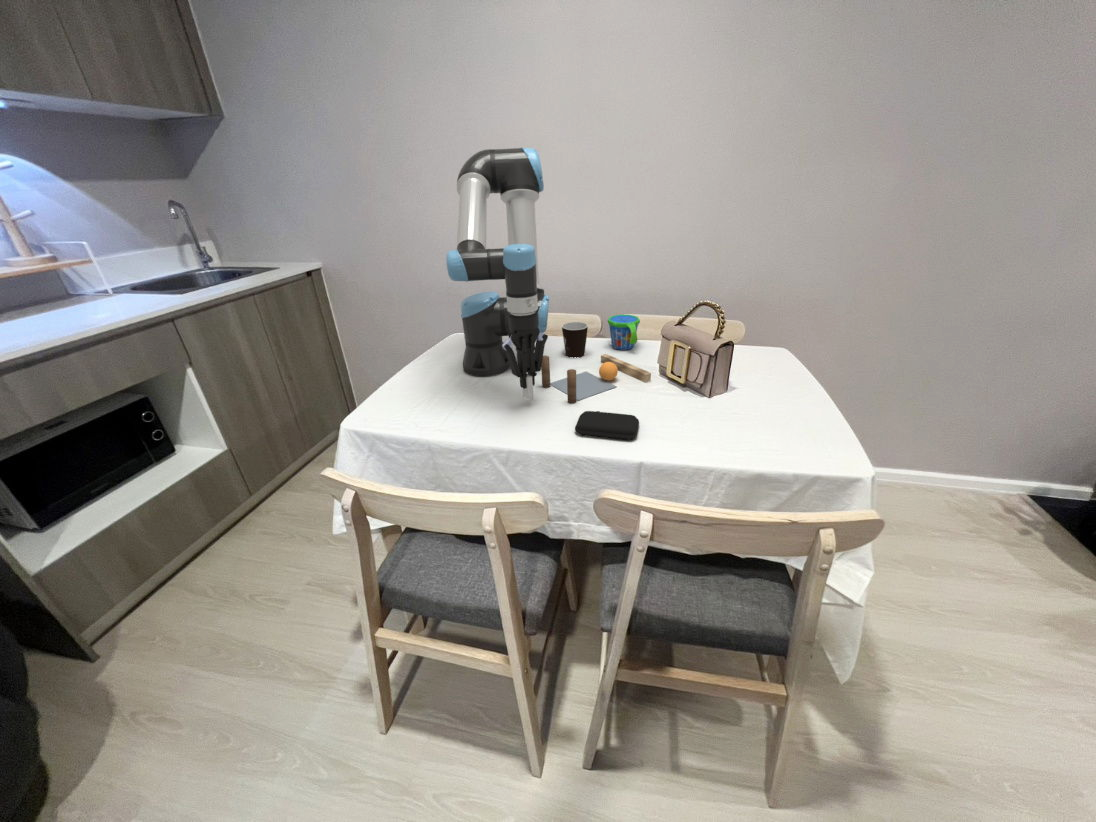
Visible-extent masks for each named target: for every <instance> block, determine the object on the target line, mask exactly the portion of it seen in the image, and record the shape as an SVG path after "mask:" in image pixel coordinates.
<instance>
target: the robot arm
mask: <svg viewBox="0 0 1096 822" xmlns="http://www.w3.org/2000/svg"><path fill="white" fill-rule="evenodd" d="M543 177H544V176H543V168H542V163H541V158H540V154H539V153H538V150H536V148H533V147H527V148H526V147H523V146H522V147H518V148H514V147H513V148H497V149H496V148H495V149H491V148H490V149H483V150H479V151H477V152H476V153H474V154H473V155H471V156H470V157H469V158H468V159H467V160H466V161H465V162H464V164H463V165H462V166H461V169H460V171H459V173H458V176H457V179H456V180H457V181H456V192H457V194H458V196H459V202H458V220H457V221H458V222H457V234H456V249H454V250H449V251H448V252H447V253H446V269H447V270H446V271H447V274H448V276H449V279H450V280H451V281H454V282H465V283H466V282H477V281H490V280H491V281H494V280H495V281H497V280H498V281H499V280H505V281H504V283H505V293H506V294H505V295H506V296H503V297H500V295H499V293H498V292H496V291H484V292H483V291H482V292H478V293H475V294H472V295H471V294H470V296H467V297H465V298H464V299H463V300H462V301H461V304H460V311H461V314H460V318H461V320H462V328H463V334H464V335H463V336H464V342H465V349H464V354H463V357H462V371H463V372H464V373H465V374H466V375H469V376H472V377H481V378H482V377H483V378H486V377H491V376H497V375H500V374H503V373H505V372H508V370H509V369H510V371H511V374H512V375H513V376H514V377H516V378H519V387H521V389H522V395H523V396H522V397H523V398H525V399H526V400H528V401H530V400H533V399H534V386H536V385H535V384H536V380H535V378H536V376H537V375H538V373H537V372H541V365H542V359H543V356H544V352H545V346H546V343H547V340H548V338H549V335H548V334H545V333H546V332H547V328H548V320H549V319H548V317H549V307H550V306H549V305H550V295H547V294H545V288H543V286H541V285H540V284H539V283H540V282H539V281H540V280H539V263H538V244H537V243H538V242H537V240H538V239H537V226H536V225H537V223H536V208H535V207H536V204H535V203H537V201H538V200H539V199H540V193H542V192H543V191H544V178H543ZM490 194H500V200H501V201H502V202H503V203H504V204H505V209H506V229H507V242H508V243H507V244H508V245H506V246H505V247H501V248H487V212H488V211H487V206H488V205H487V202H488V201H487V200H488V198H489V197H490ZM503 337H508V338H507V340H506V341H504V340H503ZM503 341H504V342H503ZM514 347H515V351H516V353H515V351H514ZM515 354H516V355H515Z"/></svg>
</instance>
